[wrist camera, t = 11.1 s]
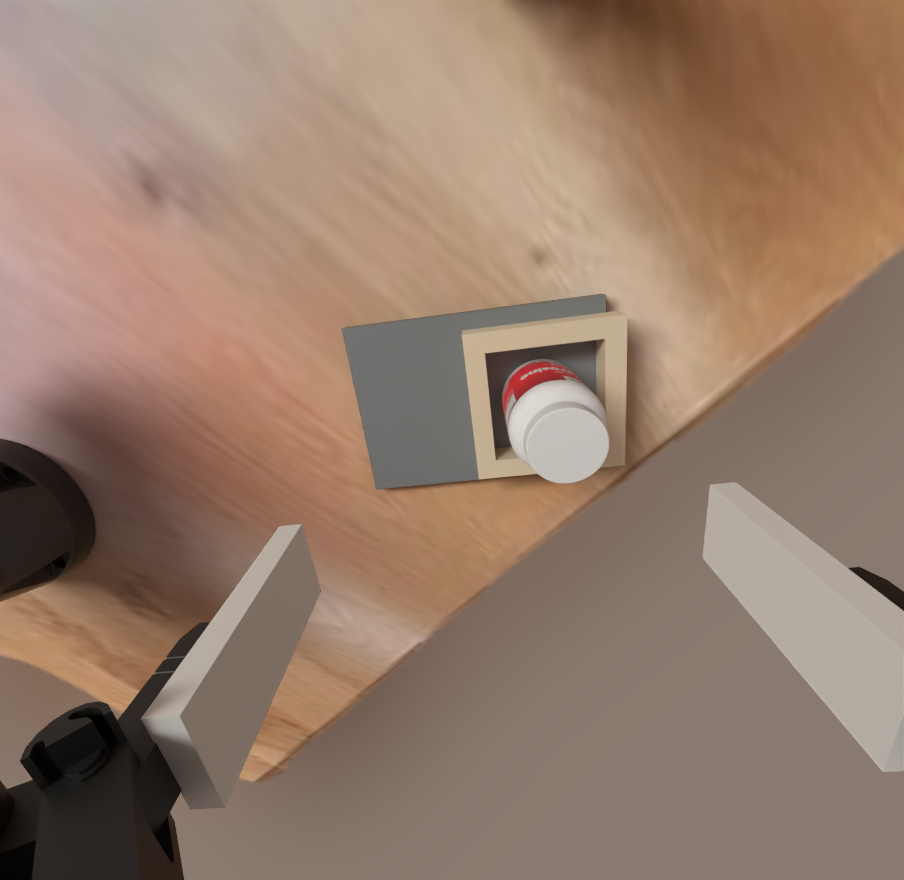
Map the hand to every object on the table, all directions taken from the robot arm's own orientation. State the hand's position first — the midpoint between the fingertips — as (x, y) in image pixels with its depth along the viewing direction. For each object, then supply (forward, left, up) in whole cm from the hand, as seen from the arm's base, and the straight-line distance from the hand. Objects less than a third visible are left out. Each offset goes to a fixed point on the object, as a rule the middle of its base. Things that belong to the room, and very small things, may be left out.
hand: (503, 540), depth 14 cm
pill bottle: (+4, -2, -22) cm, 22 cm away
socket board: (-1, -2, -23) cm, 23 cm away
